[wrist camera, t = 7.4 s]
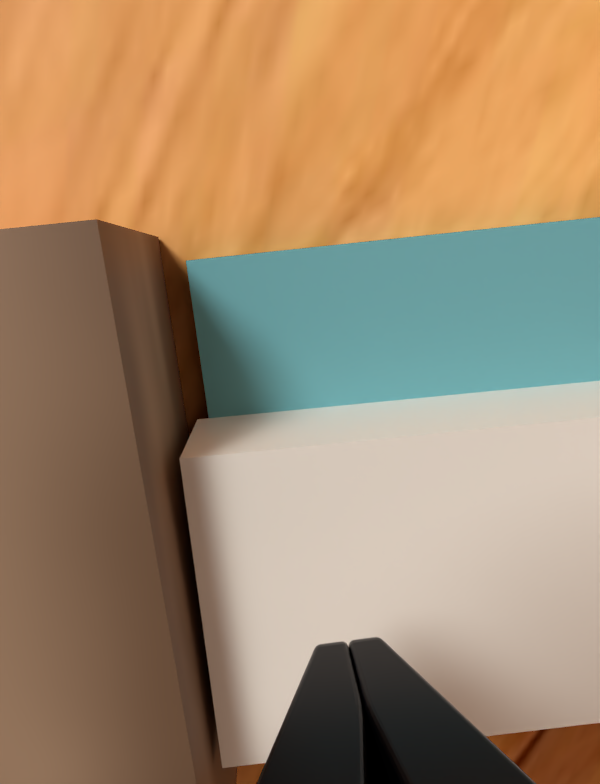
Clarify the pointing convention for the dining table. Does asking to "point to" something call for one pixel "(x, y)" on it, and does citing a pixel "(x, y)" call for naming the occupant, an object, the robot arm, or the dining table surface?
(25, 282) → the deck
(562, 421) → the light grey block
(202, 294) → the mat
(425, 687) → the robot arm
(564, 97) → the dining table surface
